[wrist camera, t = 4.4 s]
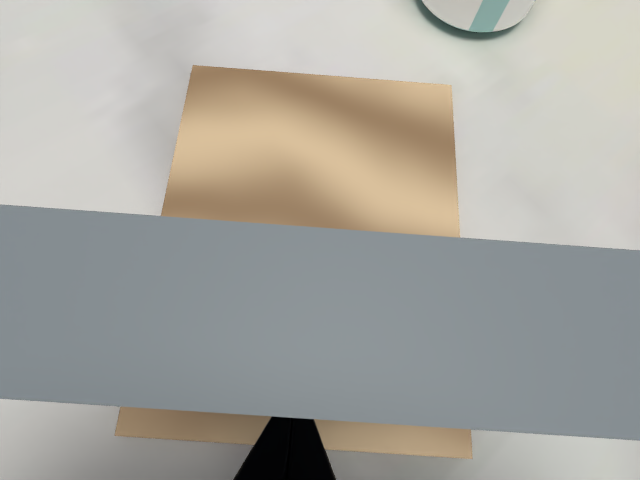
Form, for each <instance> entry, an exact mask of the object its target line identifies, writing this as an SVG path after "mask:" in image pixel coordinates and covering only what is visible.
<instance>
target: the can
mask: <svg viewBox="0 0 640 480" xmlns="http://www.w3.org/2000/svg"><path fill="white" fill-rule="evenodd" d="M422 1H423V3H424V4H425V6H426V7H427V8H428V9H429V10H430V11H431V12H432V13H433V14H434V15H435V16H436V17H438V18H439V19H441V20H442V21H444V22H445V23H447V24H449V25H451V26H453V27H455V28H458V29H461V30H466V31H472V32H493V31H499V30H503V29H506V28H509V27H511V26H514V25H515V24H517V23H518V22H520V21H521V20H522V19H523V18H524V17H525V16H526V15H527V14H528V12H529V10H530V9H531V7H532V6H533V4H534V2H535V1H536V0H422Z"/></svg>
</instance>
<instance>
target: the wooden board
mask: <svg viewBox="0 0 640 480" xmlns="http://www.w3.org/2000/svg"><path fill="white" fill-rule="evenodd" d="M161 216H166V217H180V218H194V219H208V220H222V221H236V222H250V223H264V224H278V225H292V226H306V227H319V228H333V229H347V230H361V231H375V232H389V233H403V234H417V235H431V236H445V237H459V238H460V229H459V211H458V194H457V176H456V158H455V140H454V123H453V105H452V87H451V85H444V84H431V83H418V82H405V81H392V80H379V79H366V78H353V77H340V76H327V75H314V74H301V73H288V72H275V71H262V70H249V69H236V68H223V67H210V66H197V65H193V67H192V71H191V76H190V81H189V86H188V90H187V95H186V100H185V104H184V109H183V114H182V119H181V123H180V128H179V133H178V137H177V142H176V147H175V152H174V156H173V161H172V166H171V171H170V175H169V180H168V185H167V189H166V194H165V199H164V204H163V208H162V213H161ZM270 418H271V416H258V415H243V414H228V413H213V412H197V411H182V410H167V409H152V408H137V407H120V412H119V416H118V421H117V426H116V430H115V435H114V436H125V437H141V438H156V439H172V440H187V441H203V442H218V443H234V444H249V445H255V443H256V441H257V440H258V438H259V436H260V435H261V433H262V431H263V430H264V428H265V426H266V425H267V423H268V421H269V420H270ZM314 421H315V423H316V426H317V429H318V432H319V434H320V437H321V440H322V443H323V445H324V448H325V449H326V450H342V451H357V452H373V453H388V454H404V455H419V456H435V457H450V458H466V459H472V443H471V429H457V428H441V427H426V426H411V425H396V424H380V423H365V422H350V421H335V420H319V419H314Z"/></svg>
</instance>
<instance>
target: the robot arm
mask: <svg viewBox="0 0 640 480" xmlns="http://www.w3.org/2000/svg"><path fill="white" fill-rule="evenodd" d="M233 480H336V478H335V476H334V473H333V470H332V467H331V465H330V462H329V459H328V456H327V454H326V451H325V448H324V445H323V443H322V440H321V437H320V434H319V432H318V429H317V426H316V423H315V421H314V419H304V418H289V417H274V416H271V418H270V420H269V421H268V423H267V425H266V426H265V428H264V430H263V431H262V433H261V435H260V436H259V438H258V440H257V441H256V443H255V445H254V446H253V448H252V450H251V451H250V453H249V455H248V456H247V458H246V460H245V461H244V463H243V465H242V466H241V468H240V469H239V471H238V473H237V474H236V476H235V478H234V479H233Z"/></svg>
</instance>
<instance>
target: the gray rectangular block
mask: <svg viewBox="0 0 640 480" xmlns="http://www.w3.org/2000/svg"><path fill="white" fill-rule="evenodd" d="M0 399H15V400H30V401H45V402H60V403H76V404H91V405H106V406H121V407H137V408H152V409H167V410H182V411H197V412H213V413H228V414H243V415H258V416H274V417H289V418H304V419H319V420H335V421H350V422H365V423H380V424H396V425H411V426H426V427H441V428H457V429H472V430H487V431H502V432H518V433H533V434H548V435H563V436H579V437H594V438H609V439H624V440H640V251H639V250H626V249H612V248H598V247H584V246H570V245H556V244H542V243H528V242H514V241H500V240H486V239H472V238H459V237H445V236H431V235H417V234H403V233H389V232H375V231H361V230H347V229H333V228H319V227H306V226H292V225H278V224H264V223H250V222H236V221H222V220H208V219H194V218H180V217H166V216H152V215H139V214H125V213H111V212H97V211H83V210H69V209H55V208H41V207H27V206H13V205H0Z"/></svg>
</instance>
